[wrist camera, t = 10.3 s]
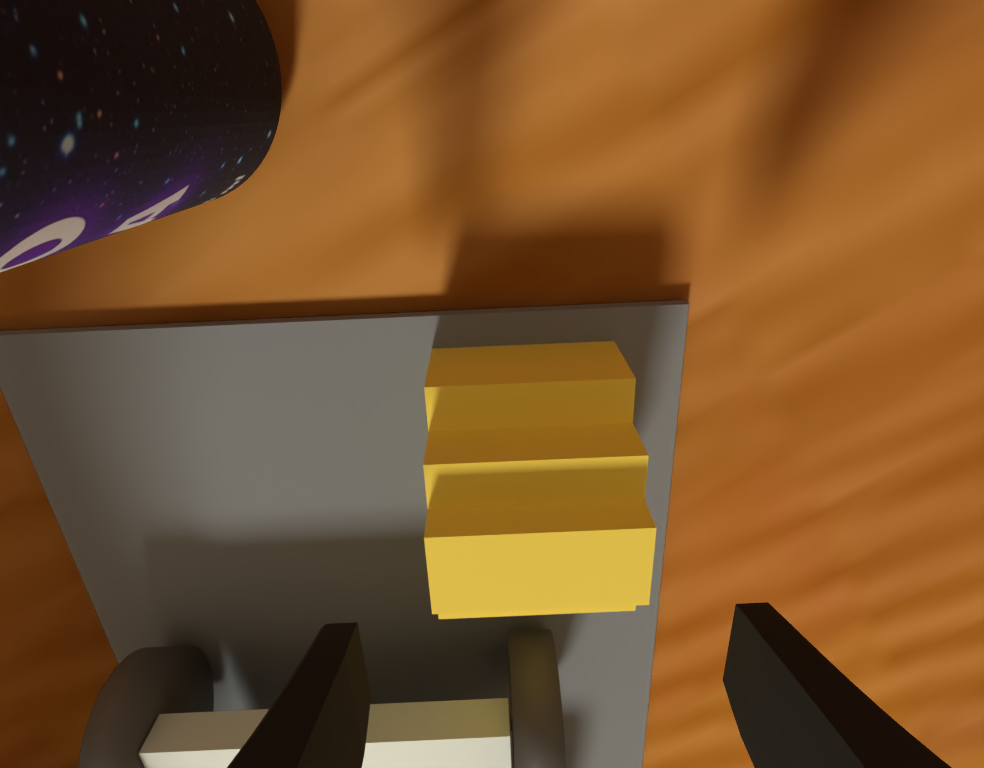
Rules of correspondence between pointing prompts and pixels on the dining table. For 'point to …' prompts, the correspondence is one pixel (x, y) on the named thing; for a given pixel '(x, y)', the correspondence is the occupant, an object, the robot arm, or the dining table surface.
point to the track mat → (317, 498)
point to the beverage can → (126, 114)
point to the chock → (535, 482)
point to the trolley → (391, 727)
